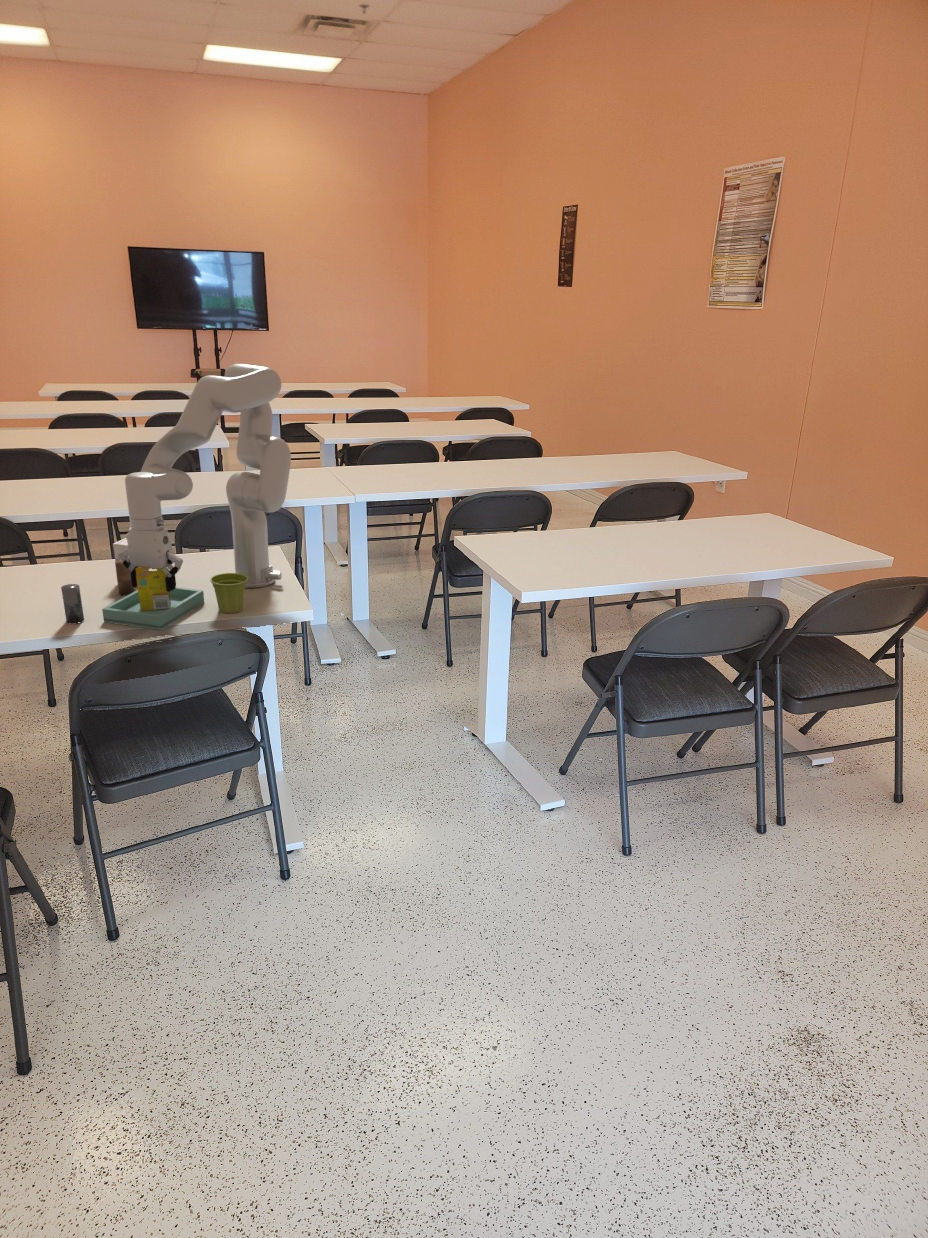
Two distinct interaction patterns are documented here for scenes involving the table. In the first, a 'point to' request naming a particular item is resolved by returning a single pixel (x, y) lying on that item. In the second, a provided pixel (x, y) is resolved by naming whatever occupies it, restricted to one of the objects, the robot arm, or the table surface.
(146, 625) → the teal tray
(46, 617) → the table surface
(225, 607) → the plant pot
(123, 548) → the ink cartridge box
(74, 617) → the graphite cylinder
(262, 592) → the table surface
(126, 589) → the walnut cylinder
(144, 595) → the crayon box
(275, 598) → the table surface
